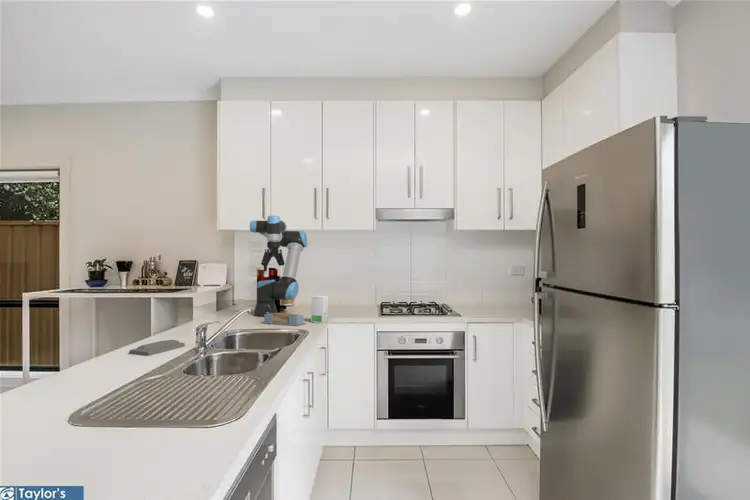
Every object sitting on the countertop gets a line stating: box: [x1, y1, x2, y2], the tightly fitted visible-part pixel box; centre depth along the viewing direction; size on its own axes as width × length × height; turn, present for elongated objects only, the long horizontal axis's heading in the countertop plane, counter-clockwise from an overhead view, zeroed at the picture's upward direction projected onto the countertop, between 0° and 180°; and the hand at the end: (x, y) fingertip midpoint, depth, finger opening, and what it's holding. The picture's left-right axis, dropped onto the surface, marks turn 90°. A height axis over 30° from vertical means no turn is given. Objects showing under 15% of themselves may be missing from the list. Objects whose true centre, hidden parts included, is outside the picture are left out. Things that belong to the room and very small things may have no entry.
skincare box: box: [310, 295, 329, 324], centre depth 266 cm, size 8×7×16 cm
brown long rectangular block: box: [271, 312, 299, 324], centre depth 258 cm, size 4×16×5 cm, turn 67°
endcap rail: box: [261, 313, 307, 327], centre depth 258 cm, size 10×24×5 cm, turn 67°
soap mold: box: [128, 339, 186, 357], centre depth 181 cm, size 10×20×4 cm, turn 162°
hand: (273, 276), depth 270 cm, fingers open, 13 cm apart
